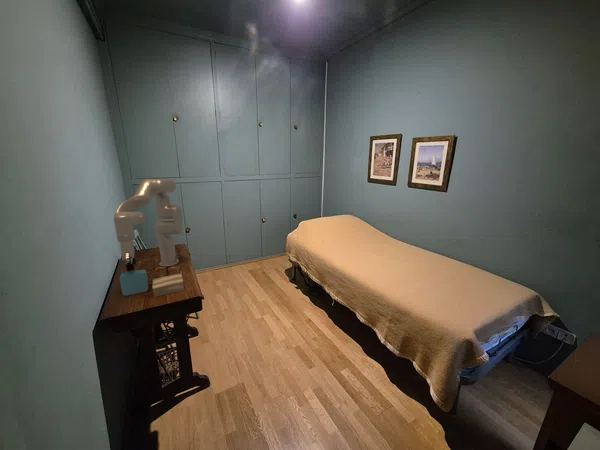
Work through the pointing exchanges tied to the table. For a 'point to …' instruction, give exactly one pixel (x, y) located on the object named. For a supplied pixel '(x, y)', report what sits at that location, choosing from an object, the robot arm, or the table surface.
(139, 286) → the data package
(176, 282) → the birch riser block
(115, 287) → the table surface
